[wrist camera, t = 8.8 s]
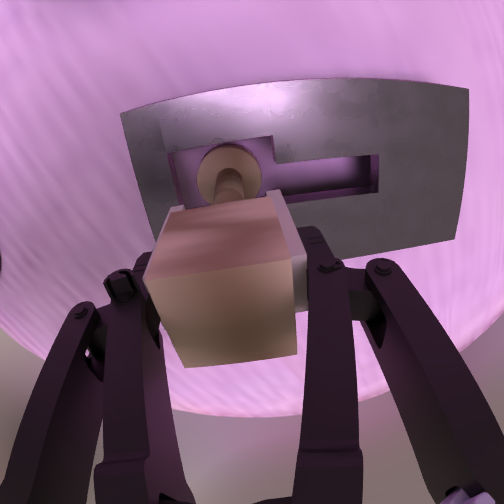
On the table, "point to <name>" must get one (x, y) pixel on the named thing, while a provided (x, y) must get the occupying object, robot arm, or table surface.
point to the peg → (225, 269)
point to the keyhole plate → (325, 152)
